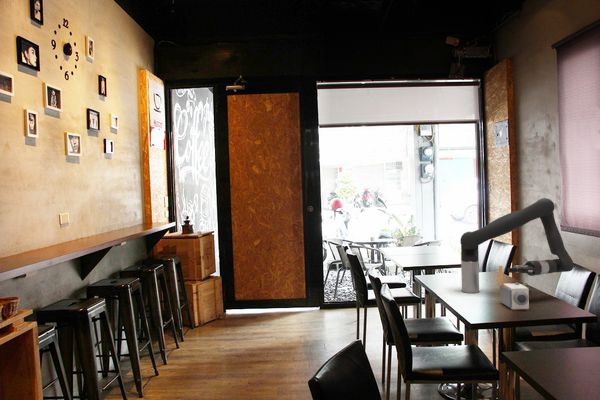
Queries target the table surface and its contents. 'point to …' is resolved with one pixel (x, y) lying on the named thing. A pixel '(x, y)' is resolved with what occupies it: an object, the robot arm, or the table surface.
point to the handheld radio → (526, 286)
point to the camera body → (518, 295)
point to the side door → (504, 291)
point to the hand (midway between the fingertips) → (508, 270)
